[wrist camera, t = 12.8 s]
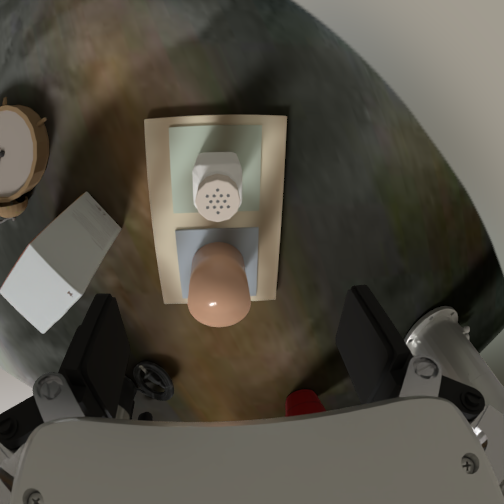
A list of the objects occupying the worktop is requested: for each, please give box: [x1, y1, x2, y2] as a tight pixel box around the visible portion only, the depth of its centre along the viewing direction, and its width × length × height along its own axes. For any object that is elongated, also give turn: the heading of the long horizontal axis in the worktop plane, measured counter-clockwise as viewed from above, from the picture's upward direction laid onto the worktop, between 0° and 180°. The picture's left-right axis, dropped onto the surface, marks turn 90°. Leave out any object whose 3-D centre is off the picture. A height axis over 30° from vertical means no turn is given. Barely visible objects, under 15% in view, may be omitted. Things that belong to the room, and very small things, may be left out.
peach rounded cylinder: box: [188, 242, 251, 327], centre depth 31 cm, size 6×6×7 cm
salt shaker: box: [192, 152, 242, 222], centre depth 25 cm, size 4×4×10 cm
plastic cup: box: [285, 389, 326, 417], centre depth 47 cm, size 11×11×12 cm
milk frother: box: [115, 361, 174, 421], centre depth 39 cm, size 14×16×15 cm
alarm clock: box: [0, 97, 49, 224], centre depth 25 cm, size 11×5×15 cm
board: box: [144, 114, 287, 304], centre depth 33 cm, size 14×22×2 cm, turn 179°
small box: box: [0, 191, 122, 334], centre depth 26 cm, size 8×6×13 cm
